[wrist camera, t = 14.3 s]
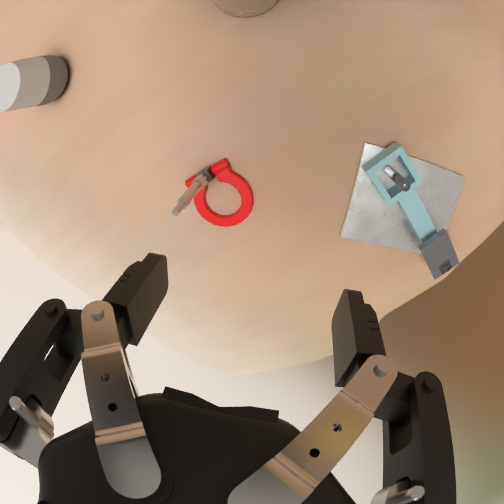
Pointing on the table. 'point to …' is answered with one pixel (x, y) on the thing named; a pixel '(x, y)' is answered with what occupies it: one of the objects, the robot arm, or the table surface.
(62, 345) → the robot arm
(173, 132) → the table surface
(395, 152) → the link
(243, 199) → the tow hook
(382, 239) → the board
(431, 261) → the block
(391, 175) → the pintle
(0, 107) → the smart speaker
